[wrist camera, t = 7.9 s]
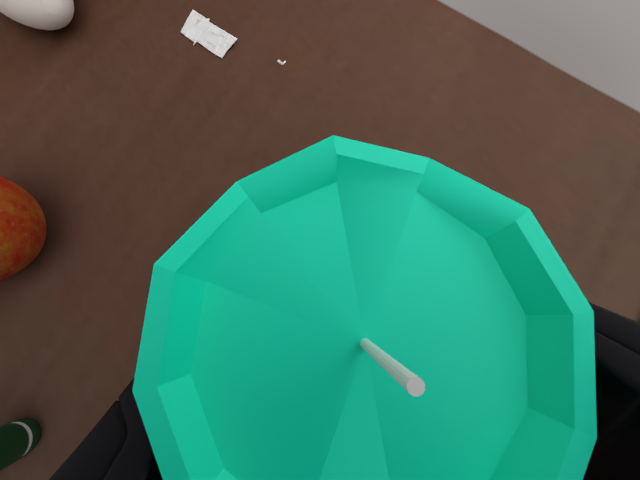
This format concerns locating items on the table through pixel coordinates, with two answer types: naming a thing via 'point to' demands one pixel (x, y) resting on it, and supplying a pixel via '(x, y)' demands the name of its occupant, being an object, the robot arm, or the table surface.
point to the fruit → (19, 228)
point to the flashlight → (17, 440)
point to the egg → (39, 12)
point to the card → (208, 34)
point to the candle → (366, 331)
